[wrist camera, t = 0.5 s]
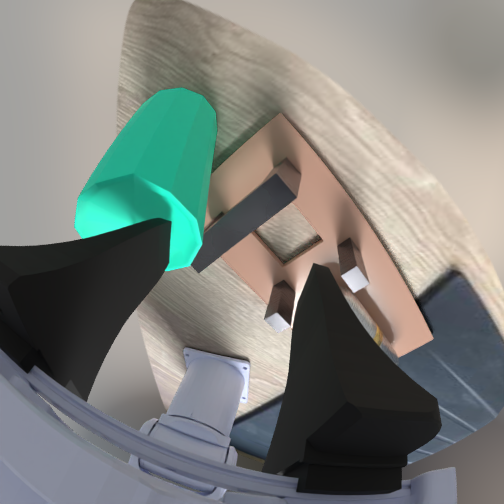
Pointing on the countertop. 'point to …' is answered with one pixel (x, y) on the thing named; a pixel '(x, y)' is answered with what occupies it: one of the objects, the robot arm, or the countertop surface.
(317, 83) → the countertop surface
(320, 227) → the plate
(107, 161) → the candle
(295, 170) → the black upright posts
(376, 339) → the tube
